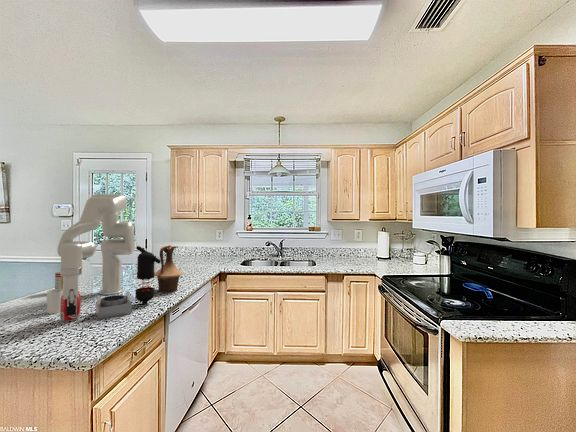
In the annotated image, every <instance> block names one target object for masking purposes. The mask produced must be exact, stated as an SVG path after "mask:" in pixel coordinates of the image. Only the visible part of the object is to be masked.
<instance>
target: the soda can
mask: <svg viewBox="0 0 576 432" xmlns="http://www.w3.org/2000/svg"><path fill="white" fill-rule="evenodd" d="M75 297H76V296H75ZM81 297H82V296H81V293H80V291H79V290H78V295H77V298H76V299H75V305H76V314H75V315H69V316H67V315H66V306H67V299H65V300H63V295H62V297H61V303H60V313H59V315H60V317H59V318H60V321H61V322H64V323H70V322H69V321H71V322H75V321H77V320H78V319H79V318H80V317H81V310H82V309H81V306H82V305H81V303H82V298H81ZM69 298H70V297H69V296H68V299H69ZM69 301H70V300H69ZM74 320H75V321H74Z"/></svg>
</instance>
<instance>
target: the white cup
mask: <svg viewBox="0 0 576 432" xmlns="http://www.w3.org/2000/svg"><path fill="white" fill-rule="evenodd" d="M62 295H63V289H55V288H53V289H48V290H46V313H47V314H48V313H49V314H50V315H51V314H52V315H53V313H55V314H58V313H59V312H60V303H61V297H62ZM49 314H48V315H49ZM59 314H60V313H59Z"/></svg>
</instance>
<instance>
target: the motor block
mask: <svg viewBox="0 0 576 432" xmlns="http://www.w3.org/2000/svg"><path fill="white" fill-rule="evenodd" d="M101 296H102V295H101V294H99V295H96V301H95V308H94V309H95V310H94V311H95V315H96V318H97V319H98V320H103V319H109V318H113V317H119V316H120V317H121V316H125V315H130V314H132V311H133V309H132V307H133V305H132V301H131V300H130V299H131V291H129V290H128V291H126V292H125V294H124V295H123V294H112V295H106V296H105V297H101Z"/></svg>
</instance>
